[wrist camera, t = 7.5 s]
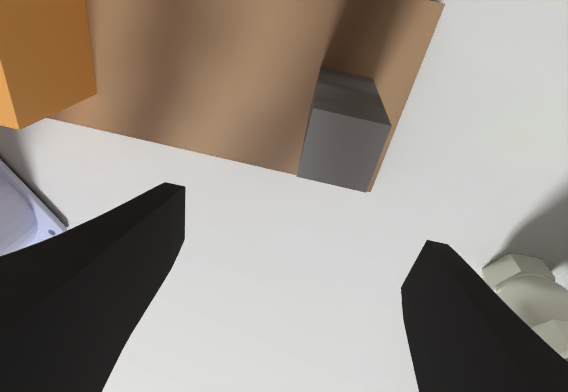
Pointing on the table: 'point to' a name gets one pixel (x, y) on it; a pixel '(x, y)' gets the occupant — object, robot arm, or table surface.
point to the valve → (532, 296)
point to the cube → (43, 59)
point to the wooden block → (259, 79)
